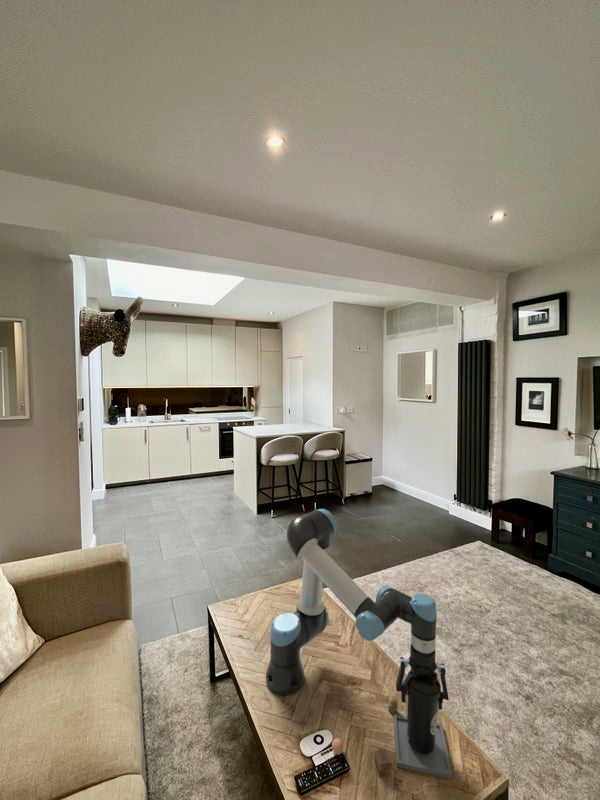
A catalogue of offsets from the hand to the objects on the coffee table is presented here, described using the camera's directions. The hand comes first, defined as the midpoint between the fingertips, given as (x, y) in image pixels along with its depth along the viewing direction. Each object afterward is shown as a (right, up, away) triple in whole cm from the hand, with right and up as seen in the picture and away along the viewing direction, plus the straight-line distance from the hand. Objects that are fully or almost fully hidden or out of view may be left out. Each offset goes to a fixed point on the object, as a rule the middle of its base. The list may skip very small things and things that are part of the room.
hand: (421, 714), depth 112 cm
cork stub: (-6, -10, +12) cm, 17 cm away
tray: (0, -11, 0) cm, 11 cm away
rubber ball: (-27, -10, -2) cm, 29 cm away
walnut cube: (-14, -11, -6) cm, 19 cm away
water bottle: (0, -9, 0) cm, 9 cm away
